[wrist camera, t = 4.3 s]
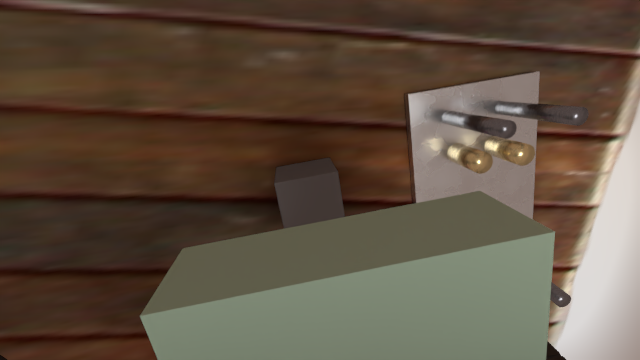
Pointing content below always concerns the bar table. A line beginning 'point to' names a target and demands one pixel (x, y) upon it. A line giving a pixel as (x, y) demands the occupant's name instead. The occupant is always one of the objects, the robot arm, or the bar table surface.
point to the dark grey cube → (308, 192)
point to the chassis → (481, 142)
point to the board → (365, 289)
